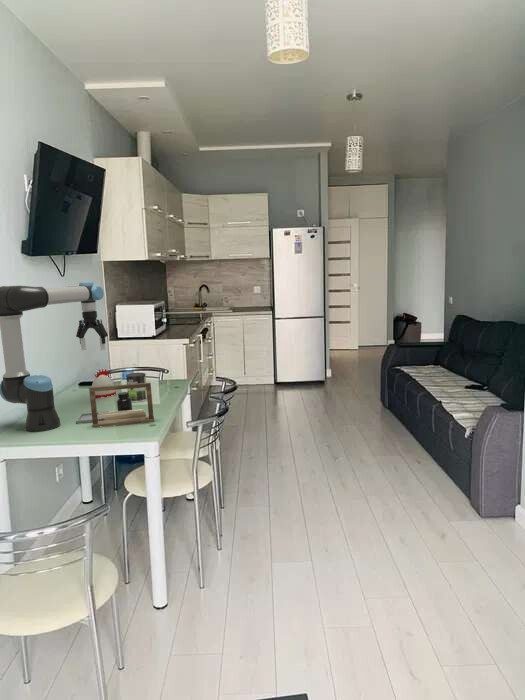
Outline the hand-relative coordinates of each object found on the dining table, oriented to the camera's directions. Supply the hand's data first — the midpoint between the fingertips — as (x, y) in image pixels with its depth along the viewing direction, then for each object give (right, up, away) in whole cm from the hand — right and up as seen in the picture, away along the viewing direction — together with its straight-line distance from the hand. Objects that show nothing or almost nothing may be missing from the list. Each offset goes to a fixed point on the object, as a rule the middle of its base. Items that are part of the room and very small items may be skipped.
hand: (93, 350), depth 295 cm
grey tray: (+11, -33, -35) cm, 50 cm away
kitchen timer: (+1, -26, +17) cm, 31 cm away
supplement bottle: (+27, -32, -36) cm, 55 cm away
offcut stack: (+27, -32, -46) cm, 63 cm away
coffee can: (+24, -27, -1) cm, 36 cm away
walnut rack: (+28, -33, -45) cm, 63 cm away
